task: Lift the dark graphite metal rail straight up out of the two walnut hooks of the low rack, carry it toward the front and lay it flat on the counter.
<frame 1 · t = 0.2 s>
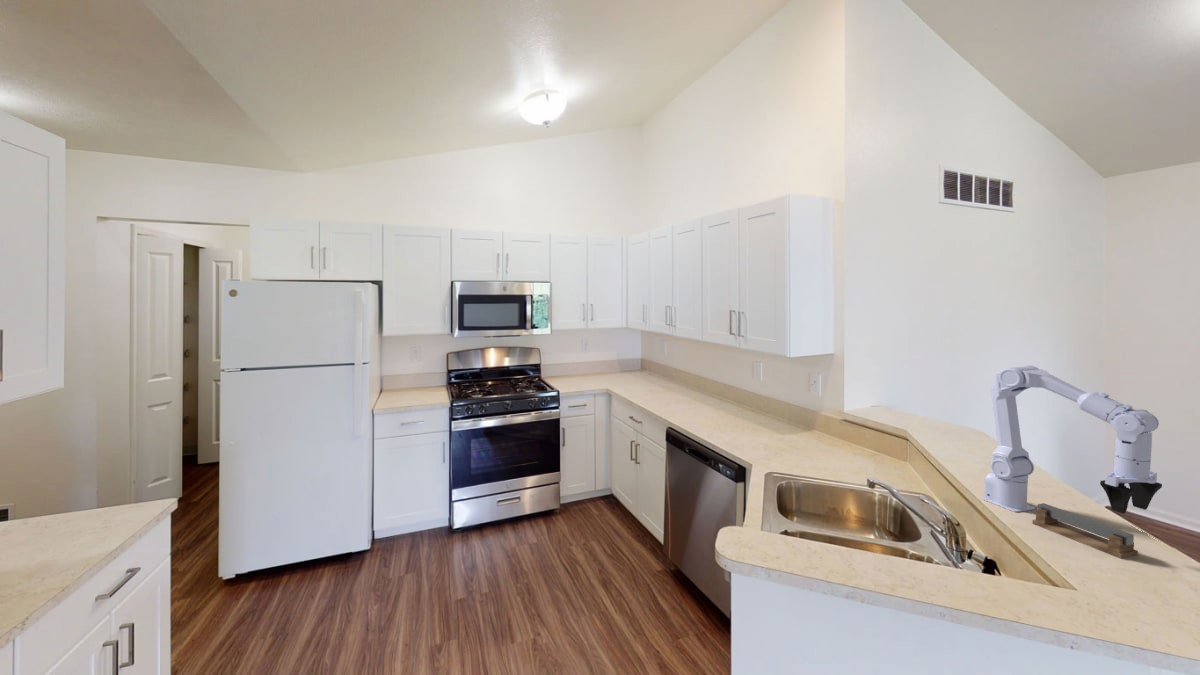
hand: (1129, 509, 109), 10 cm above the counter, tool pointing down, fingers open, 7 cm apart
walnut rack: (1081, 537, 114), on the counter
graphite rail: (1081, 527, 114), point 3 cm above the counter, touching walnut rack
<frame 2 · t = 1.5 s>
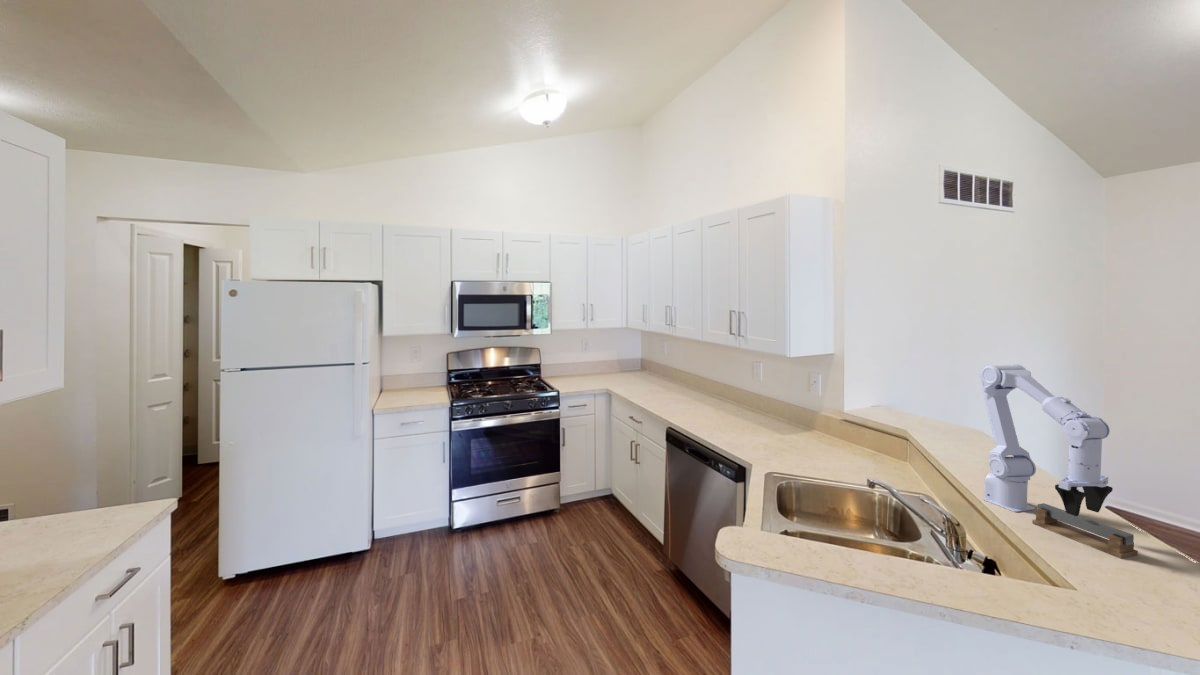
hand: (1082, 512, 114), 7 cm above the counter, tool pointing down, fingers open, 7 cm apart
nothing on the counter moved.
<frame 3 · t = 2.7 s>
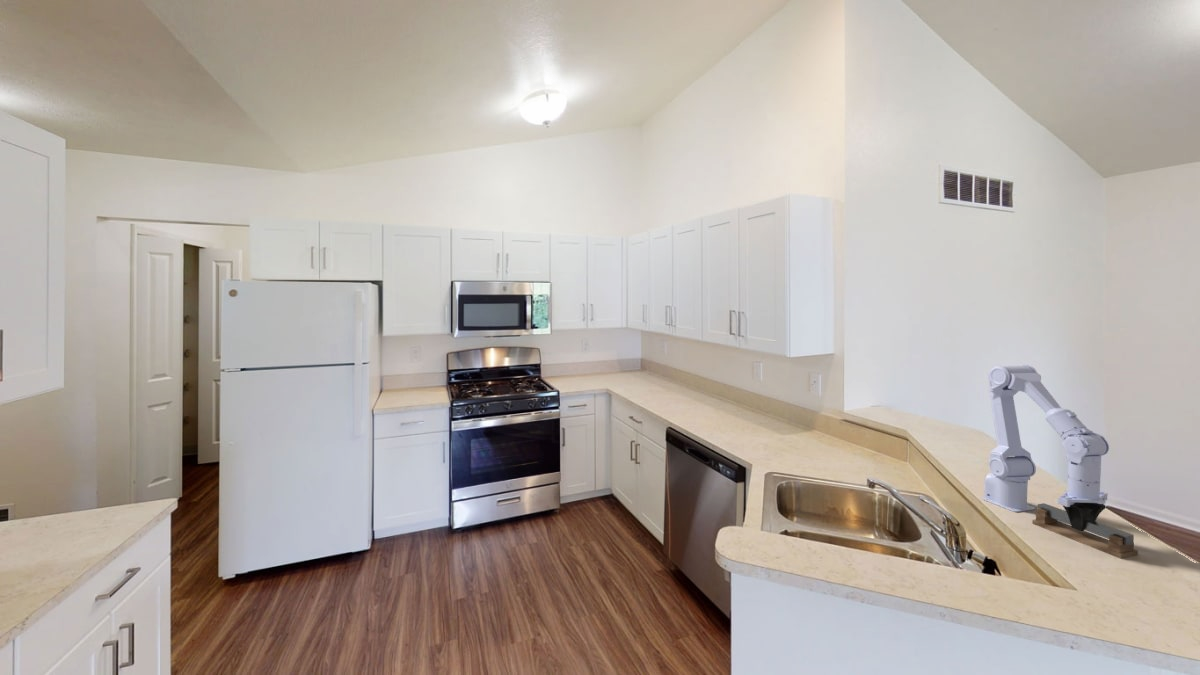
hand: (1081, 528, 114), 3 cm above the counter, tool pointing down, fingers closed on graphite rail, 2 cm apart
graphite rail: (1081, 527, 114), point 3 cm above the counter, touching gripper, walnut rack
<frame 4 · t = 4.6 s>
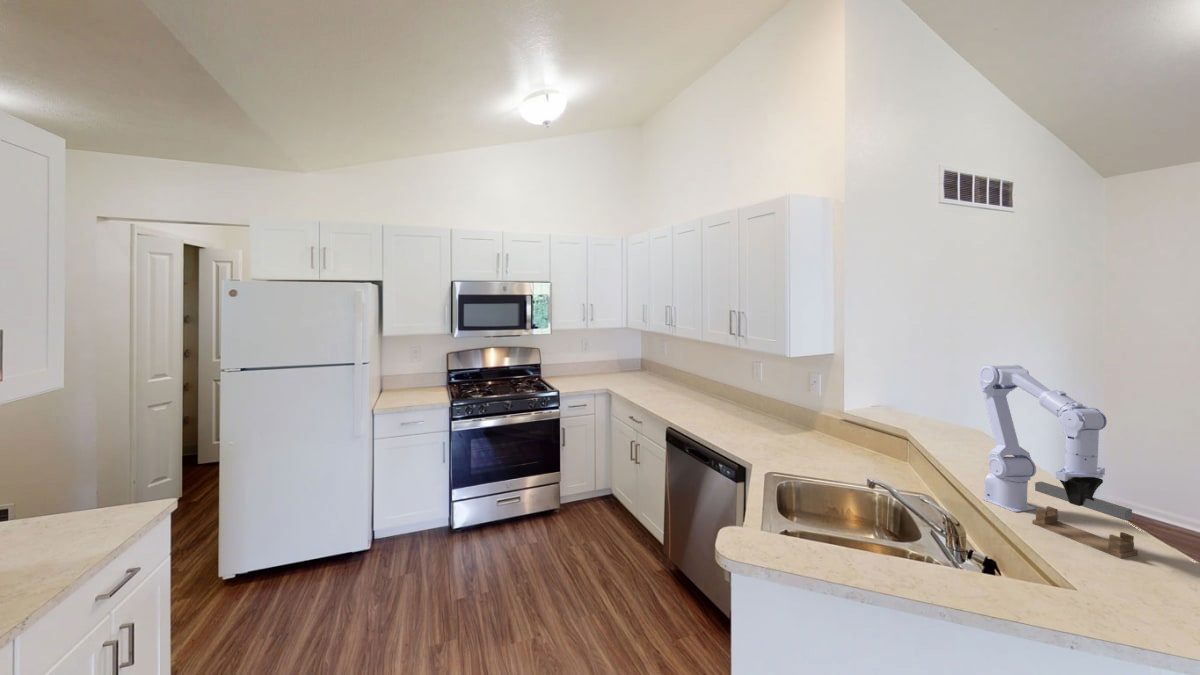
hand: (1079, 503, 113), 10 cm above the counter, tool pointing down, fingers closed on graphite rail, 2 cm apart
graphite rail: (1079, 503, 113), point 10 cm above the counter, touching gripper
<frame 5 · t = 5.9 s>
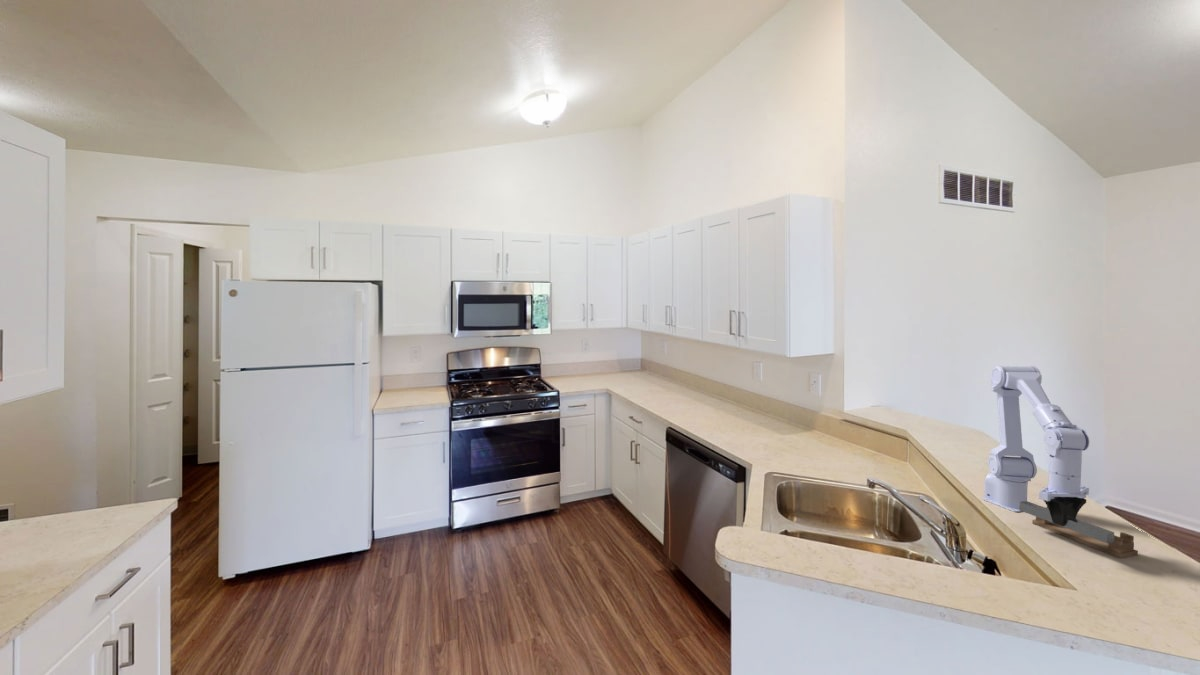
hand: (1062, 523, 112), 5 cm above the counter, tool pointing down, fingers closed on graphite rail, 2 cm apart
graphite rail: (1063, 524, 112), point 5 cm above the counter, touching gripper
when the fingers open (1 cm above the counter, at t = 6.8 s): graphite rail drops 1 cm, on the counter.
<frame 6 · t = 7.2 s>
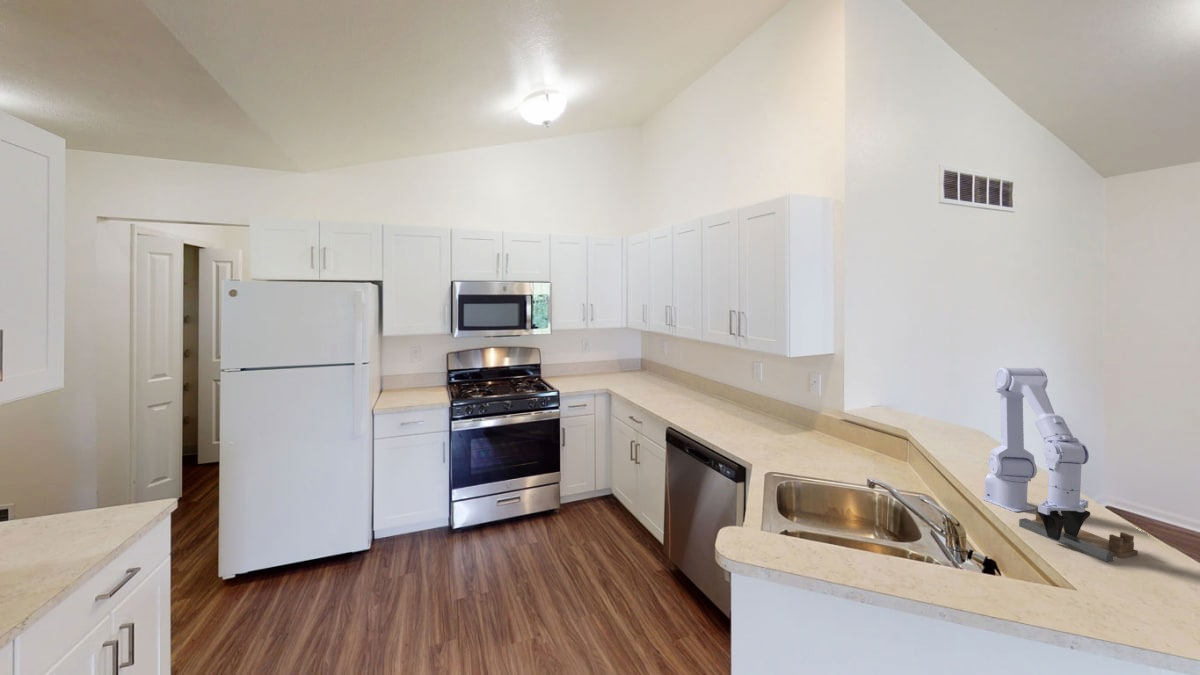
hand: (1062, 536, 113), 1 cm above the counter, tool pointing down, fingers open, 6 cm apart
graphite rail: (1062, 543, 113), on the counter
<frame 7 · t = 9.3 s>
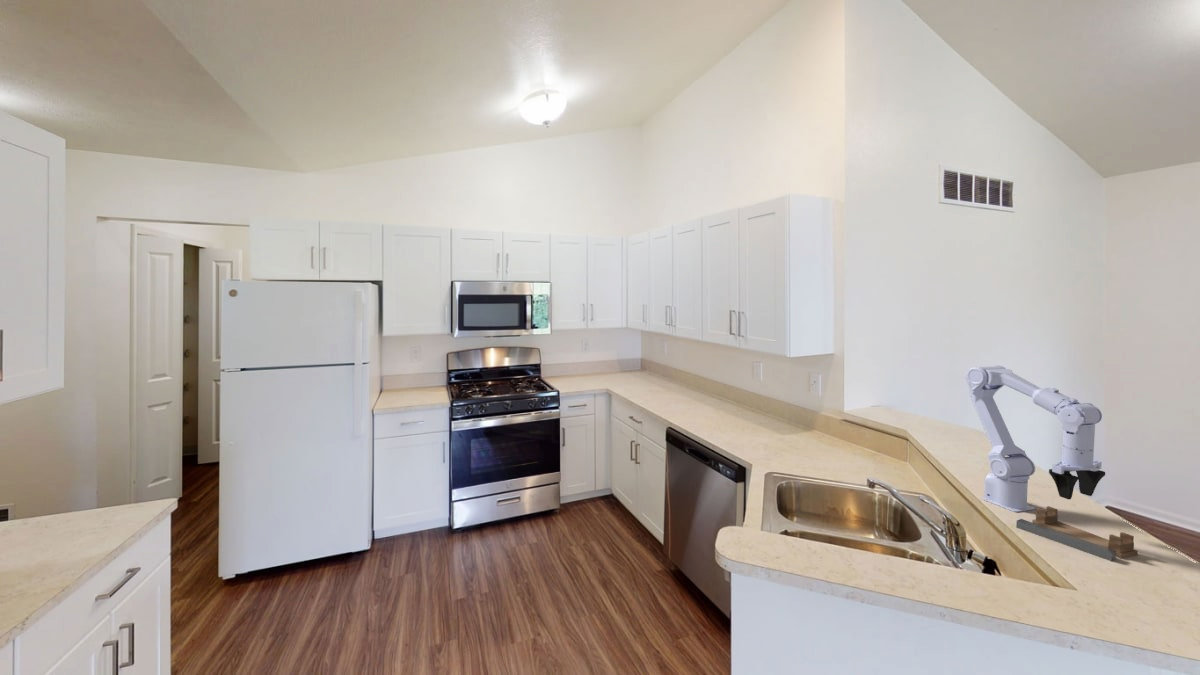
hand: (1075, 496, 117), 10 cm above the counter, tool pointing down, fingers open, 7 cm apart
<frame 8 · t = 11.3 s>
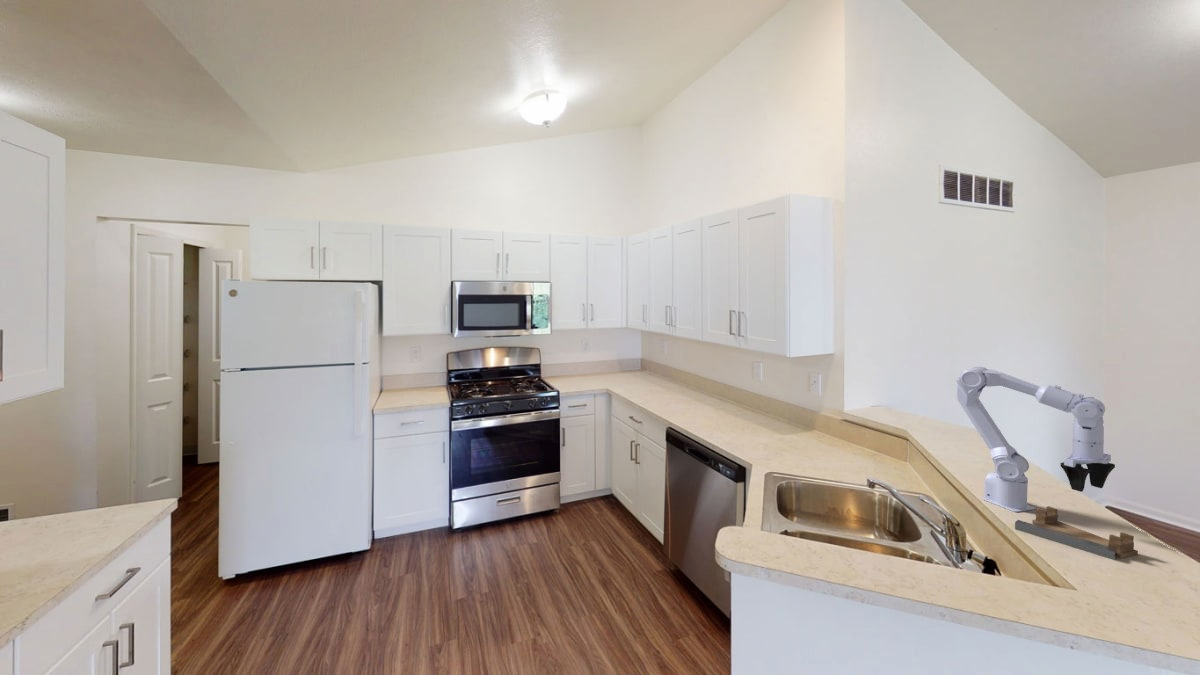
hand: (1087, 488, 120), 10 cm above the counter, tool pointing down, fingers open, 7 cm apart
at the end: graphite rail 0.2 cm from the target spot, on the counter; graphite rail touching counter; the gripper is holding nothing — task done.
